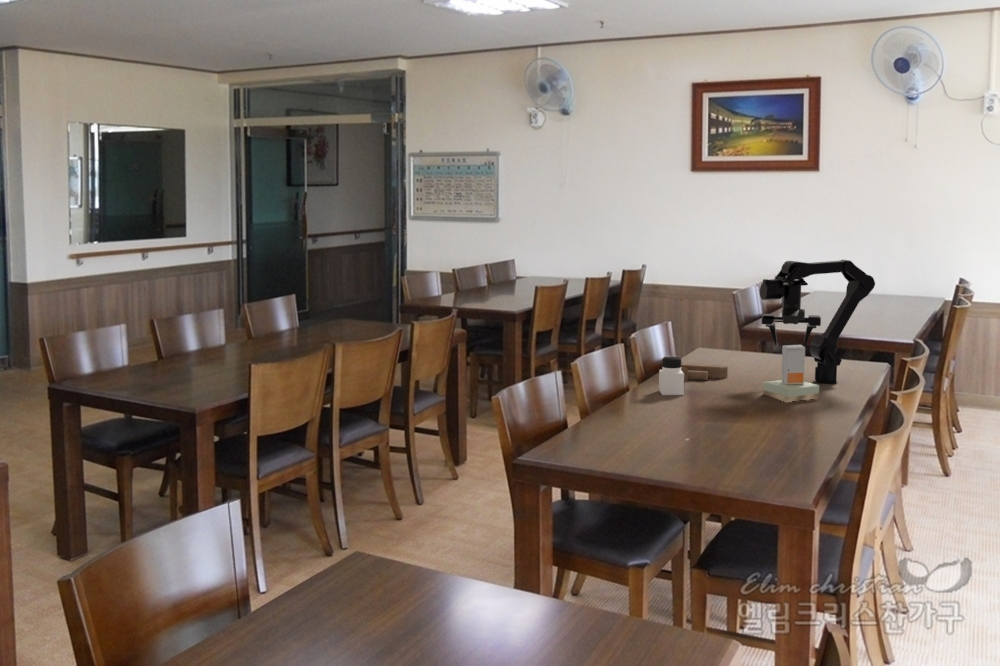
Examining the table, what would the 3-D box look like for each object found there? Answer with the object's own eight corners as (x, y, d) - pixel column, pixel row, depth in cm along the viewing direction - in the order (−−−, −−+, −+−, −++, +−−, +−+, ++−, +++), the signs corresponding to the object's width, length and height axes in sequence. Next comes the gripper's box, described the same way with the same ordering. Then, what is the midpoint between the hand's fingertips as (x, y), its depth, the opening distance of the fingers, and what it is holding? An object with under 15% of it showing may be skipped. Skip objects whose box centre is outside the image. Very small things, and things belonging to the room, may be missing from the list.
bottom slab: (794, 393, 305) (795, 386, 305) (818, 401, 294) (818, 393, 294) (763, 396, 301) (763, 389, 301) (785, 404, 290) (786, 396, 290)
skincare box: (785, 385, 295) (786, 347, 293) (781, 382, 299) (781, 345, 297) (805, 384, 295) (805, 346, 293) (800, 381, 299) (801, 344, 297)
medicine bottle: (684, 395, 302) (684, 358, 300) (662, 395, 302) (662, 358, 300) (680, 390, 309) (681, 354, 307) (658, 390, 309) (659, 354, 307)
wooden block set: (676, 359, 335) (728, 362, 329) (675, 375, 335) (727, 378, 329) (668, 368, 319) (722, 371, 313) (668, 384, 320) (722, 387, 314)
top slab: (792, 386, 305) (792, 378, 305) (819, 393, 294) (819, 385, 294) (762, 389, 300) (763, 382, 300) (788, 397, 289) (789, 389, 289)
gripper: (761, 301, 308) (760, 348, 310) (821, 302, 302) (819, 350, 304) (763, 297, 318) (761, 342, 320) (821, 298, 312) (819, 345, 315)
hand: (790, 345), depth 315 cm, fingers open, 9 cm apart
